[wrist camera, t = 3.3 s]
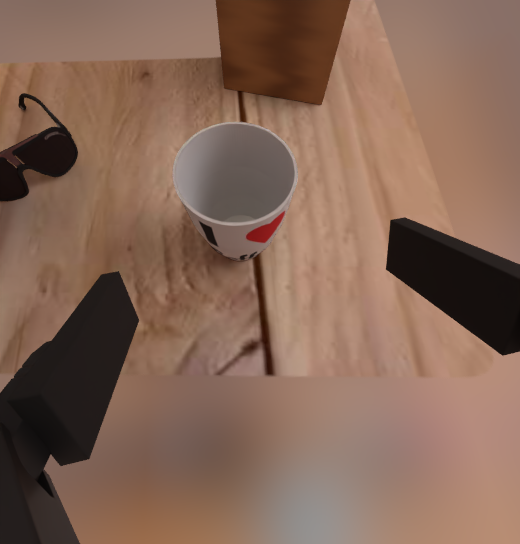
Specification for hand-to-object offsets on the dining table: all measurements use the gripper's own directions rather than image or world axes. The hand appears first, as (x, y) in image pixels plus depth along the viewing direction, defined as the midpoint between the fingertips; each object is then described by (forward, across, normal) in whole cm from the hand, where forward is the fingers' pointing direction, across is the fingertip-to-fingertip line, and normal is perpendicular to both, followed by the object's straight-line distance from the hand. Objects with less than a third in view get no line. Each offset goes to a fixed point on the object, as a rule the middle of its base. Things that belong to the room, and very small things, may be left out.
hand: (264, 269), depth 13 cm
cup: (+14, 0, -3) cm, 15 cm away
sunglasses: (+24, -21, +7) cm, 33 cm away
